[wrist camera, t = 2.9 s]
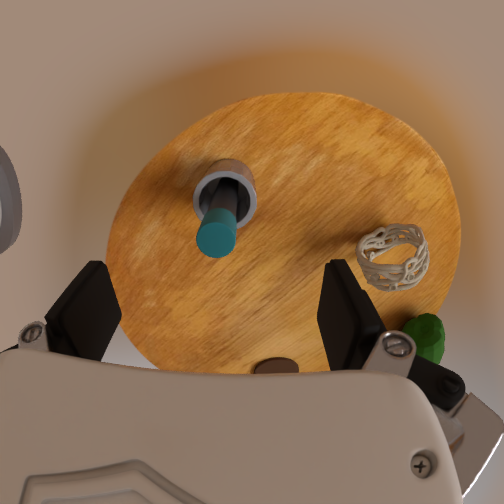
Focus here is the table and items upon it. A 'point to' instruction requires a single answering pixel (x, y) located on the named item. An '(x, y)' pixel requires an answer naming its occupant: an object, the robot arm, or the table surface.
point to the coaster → (277, 366)
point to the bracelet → (405, 273)
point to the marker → (220, 220)
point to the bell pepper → (427, 336)
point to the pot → (245, 191)
